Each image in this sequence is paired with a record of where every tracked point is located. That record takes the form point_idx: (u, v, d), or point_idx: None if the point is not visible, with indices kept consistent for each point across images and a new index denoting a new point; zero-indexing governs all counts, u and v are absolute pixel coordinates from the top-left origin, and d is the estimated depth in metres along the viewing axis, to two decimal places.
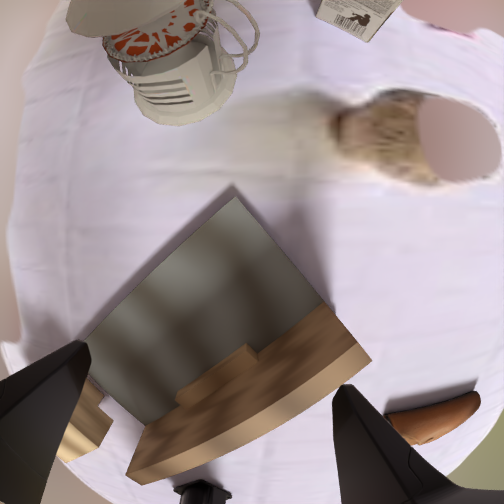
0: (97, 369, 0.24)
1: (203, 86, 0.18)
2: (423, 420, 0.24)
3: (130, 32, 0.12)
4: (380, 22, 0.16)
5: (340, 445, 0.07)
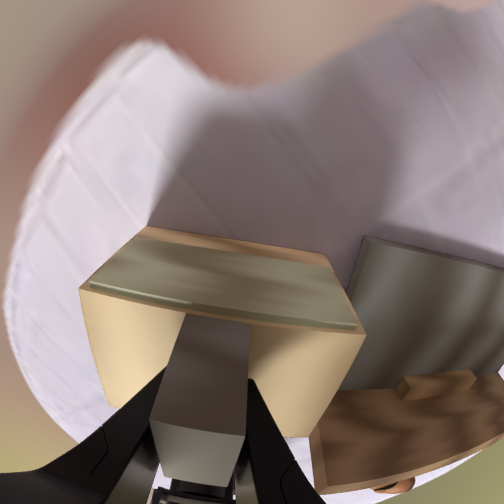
0: (378, 296, 0.15)
1: None
2: None
3: None
4: None
5: None
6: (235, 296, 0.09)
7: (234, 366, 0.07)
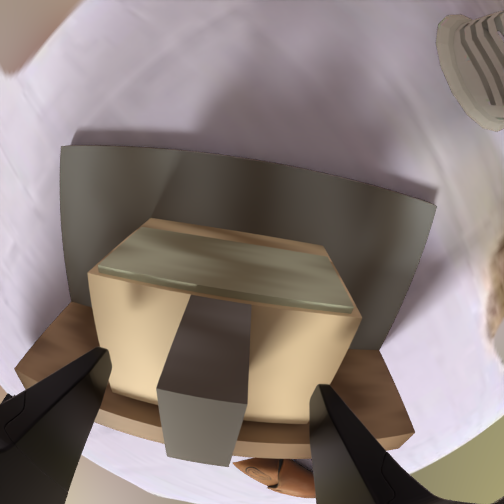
0: (78, 195, 0.15)
1: None
2: (297, 478, 0.26)
3: None
4: None
5: (315, 446, 0.07)
6: (237, 280, 0.10)
7: (237, 341, 0.07)
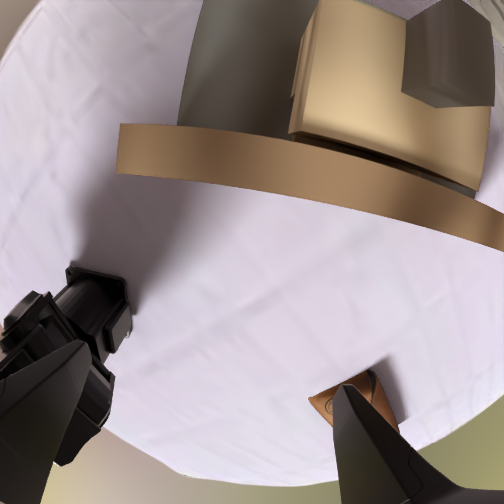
0: (222, 18, 0.13)
1: None
2: (384, 408, 0.25)
3: None
4: None
5: (340, 445, 0.07)
6: None
7: None
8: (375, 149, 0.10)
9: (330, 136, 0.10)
